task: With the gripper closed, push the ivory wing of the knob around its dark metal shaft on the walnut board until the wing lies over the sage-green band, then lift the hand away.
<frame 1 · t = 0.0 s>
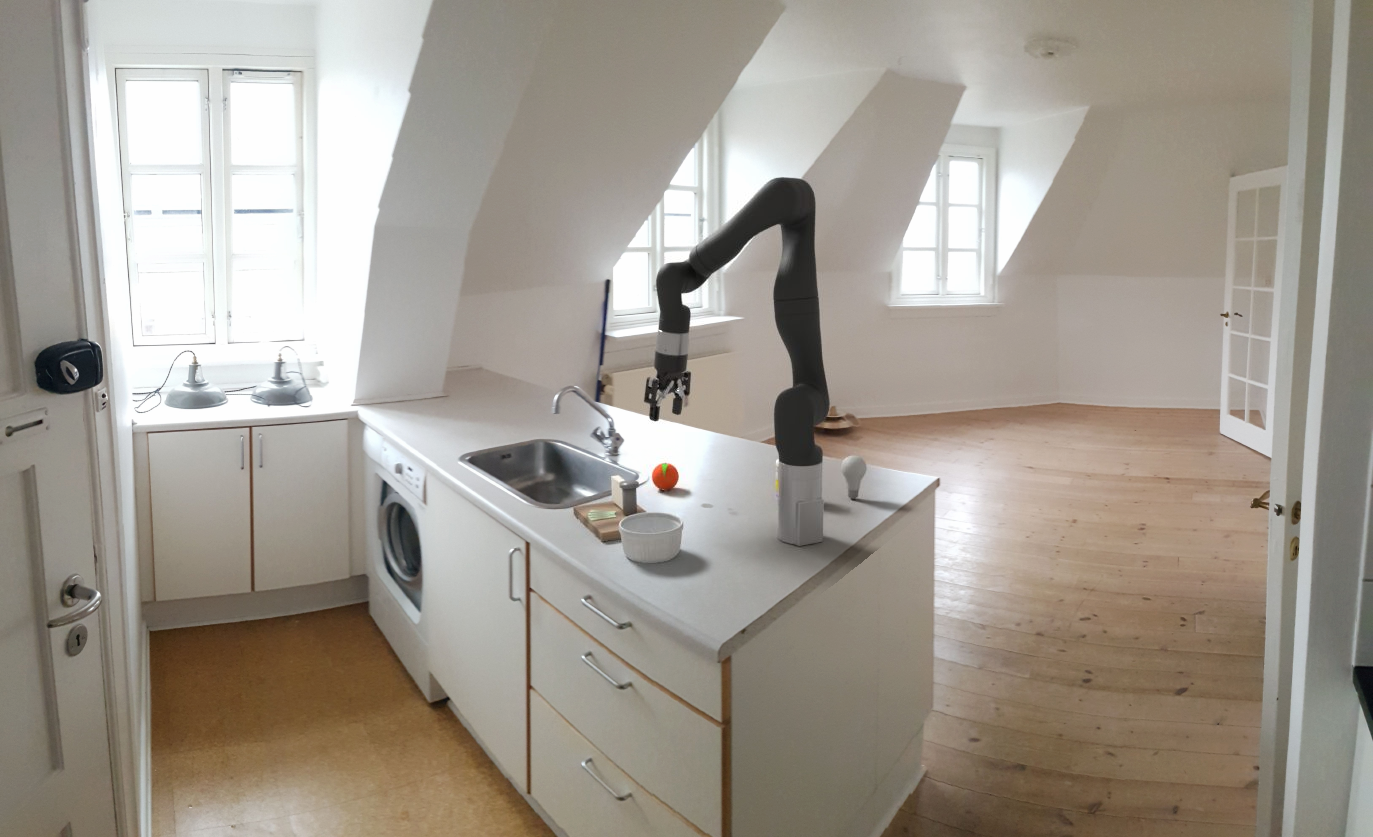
hand: (665, 417, 202), 22 cm above the worktop, tool pointing down, fingers open, 8 cm apart
knob: (623, 493, 200), point 6 cm above the worktop, hinge at 0.0°
board: (616, 523, 197), on the worktop
ramekin: (651, 555, 179), on the worktop
supplement bottle: (788, 500, 213), on the worktop
lightbulb: (852, 499, 212), on the worktop
clementine: (665, 490, 221), on the worktop
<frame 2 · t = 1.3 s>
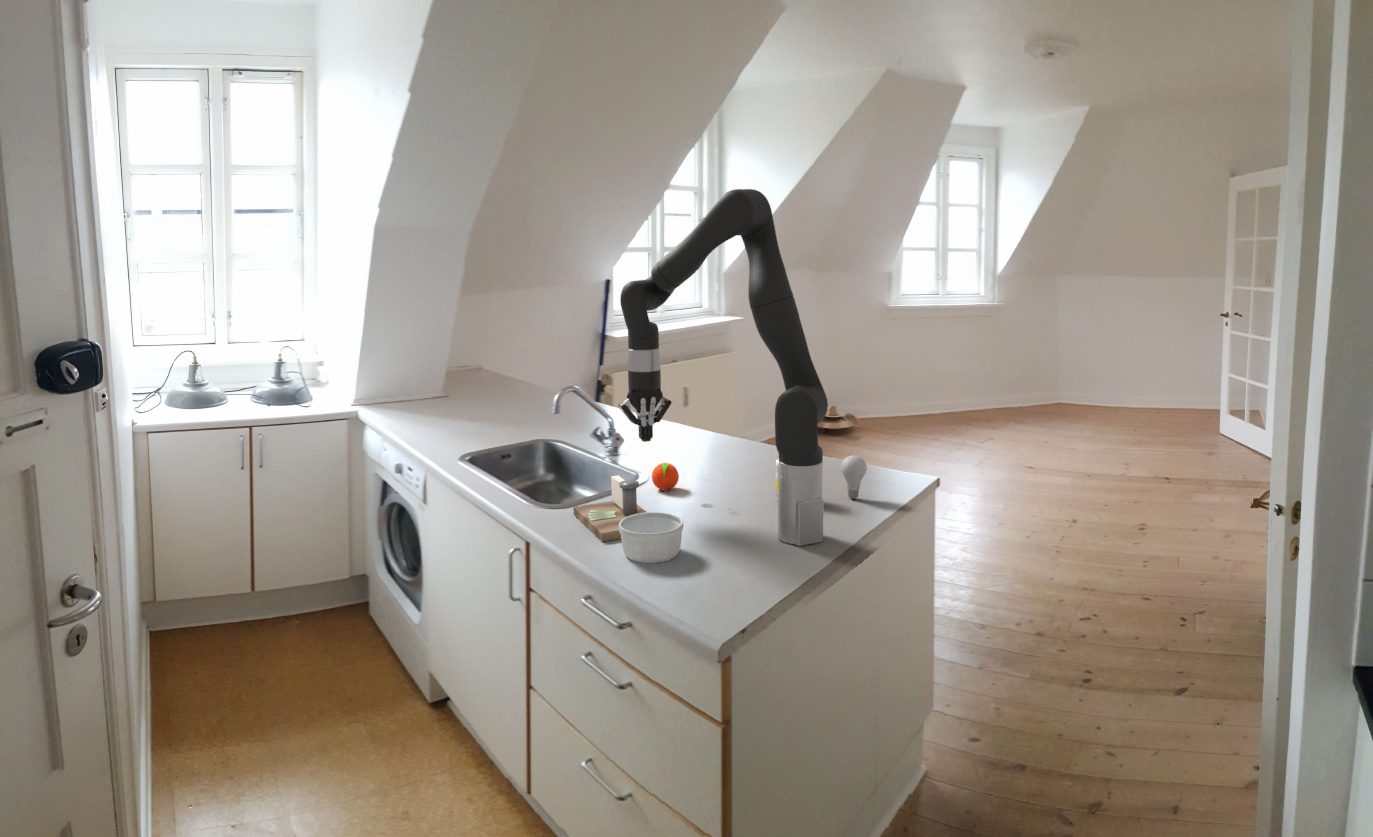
hand: (646, 440, 202), 17 cm above the worktop, tool pointing down, fingers closed
nothing on the worktop moved.
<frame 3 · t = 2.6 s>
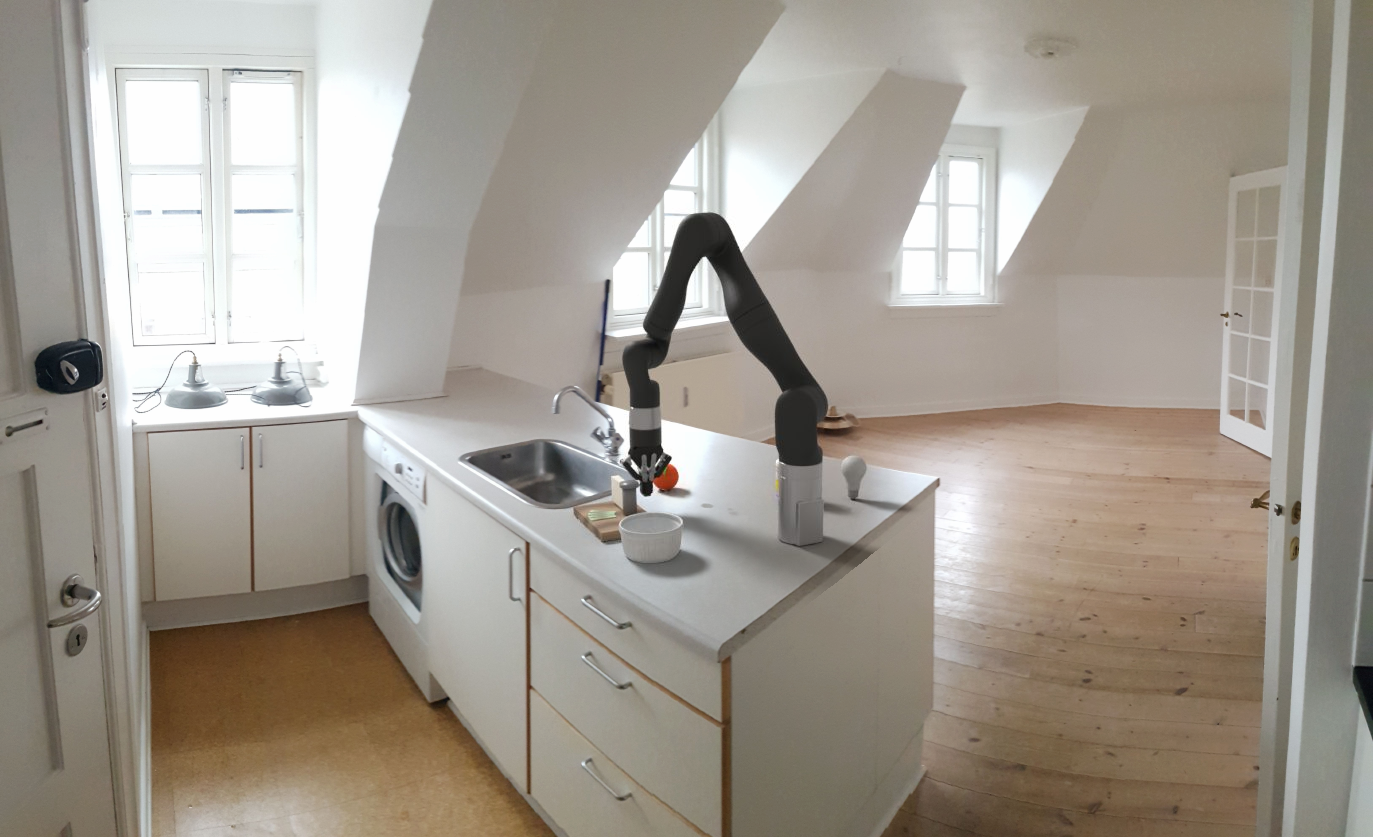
hand: (646, 495, 205), 4 cm above the worktop, tool pointing down, fingers closed
nothing on the worktop moved.
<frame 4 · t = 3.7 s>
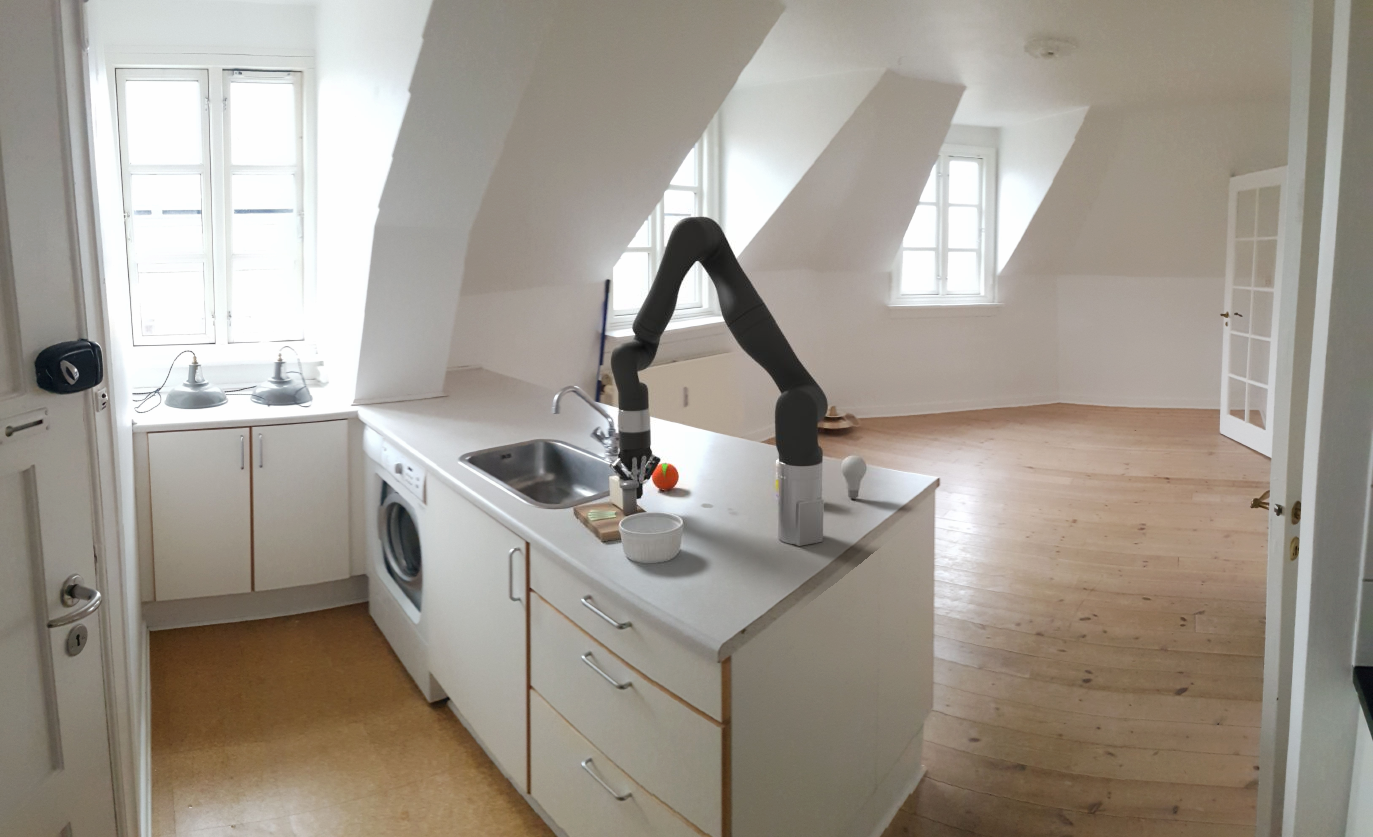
hand: (636, 498, 205), 3 cm above the worktop, tool pointing down, fingers closed
knob: (623, 493, 199), point 6 cm above the worktop, hinge at 2.9°, touching hand
everything else where it was.
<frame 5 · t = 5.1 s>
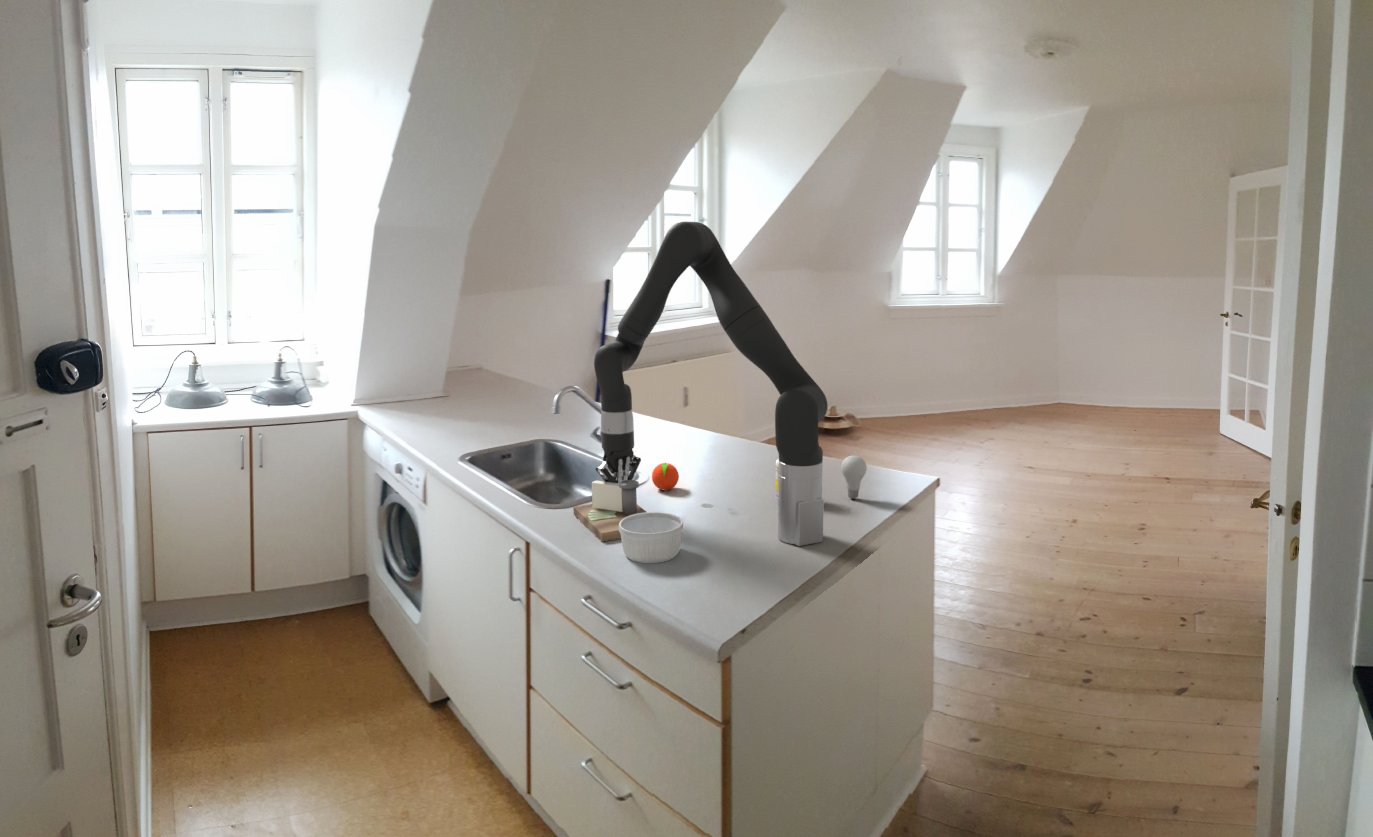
hand: (620, 500, 204), 3 cm above the worktop, tool pointing down, fingers closed
knob: (615, 495, 198), point 6 cm above the worktop, hinge at 38.6°, touching hand
everything else where it was.
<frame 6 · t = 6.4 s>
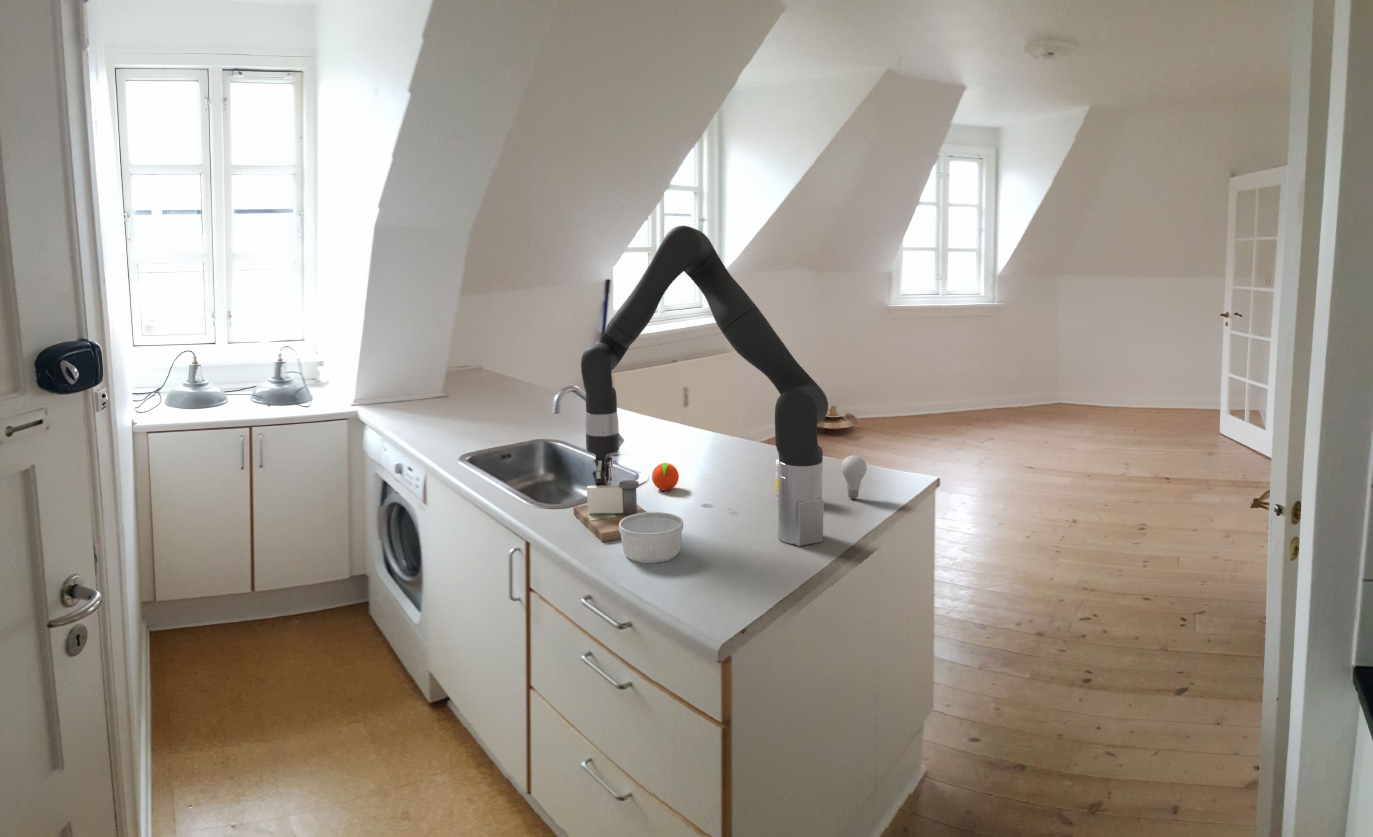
hand: (604, 502, 202), 3 cm above the worktop, tool pointing down, fingers closed
knob: (613, 498, 196), point 6 cm above the worktop, hinge at 64.9°, touching hand
everything else where it was.
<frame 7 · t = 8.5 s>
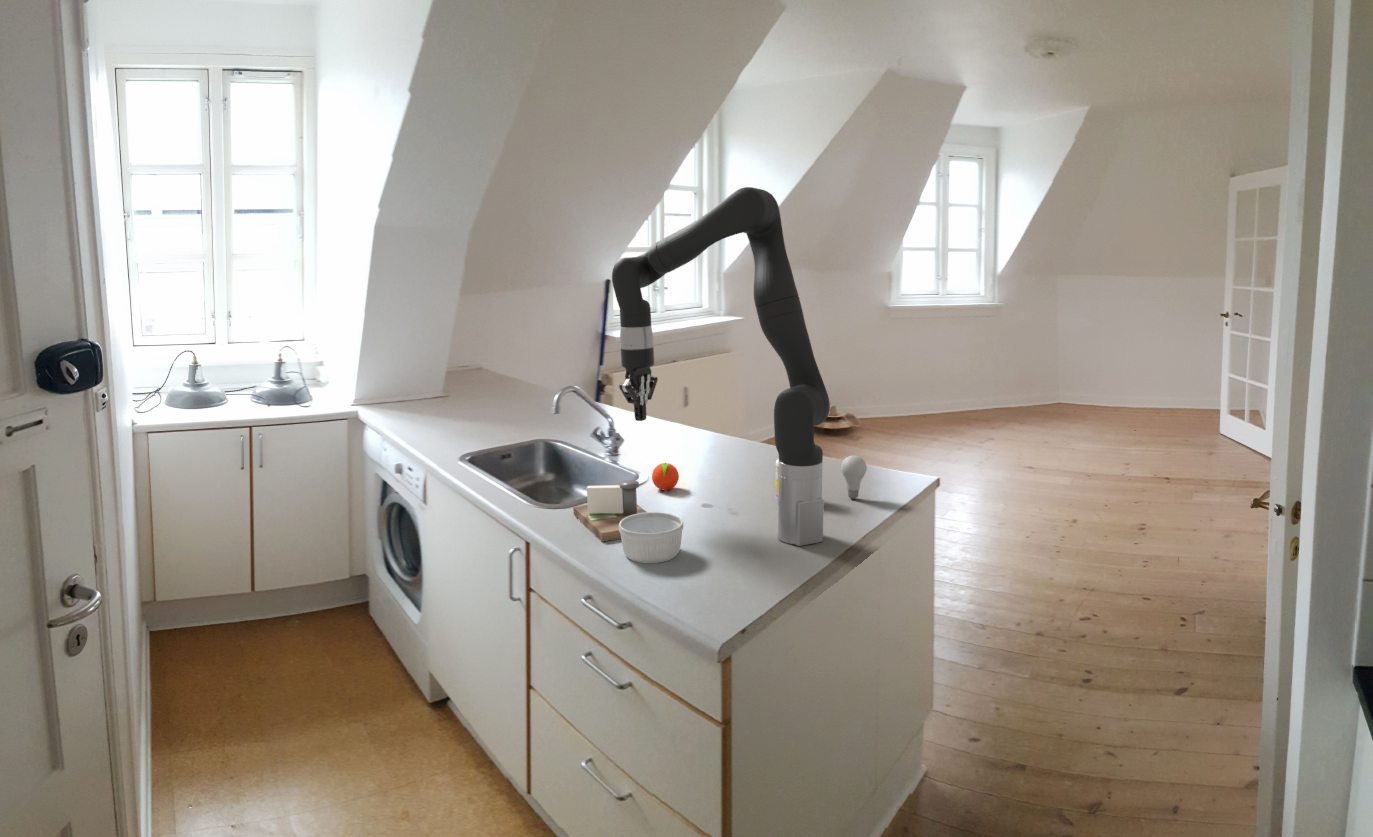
hand: (640, 420, 201), 22 cm above the worktop, tool pointing down, fingers closed
knob: (613, 498, 196), point 6 cm above the worktop, hinge at 65.3°
everything else where it was.
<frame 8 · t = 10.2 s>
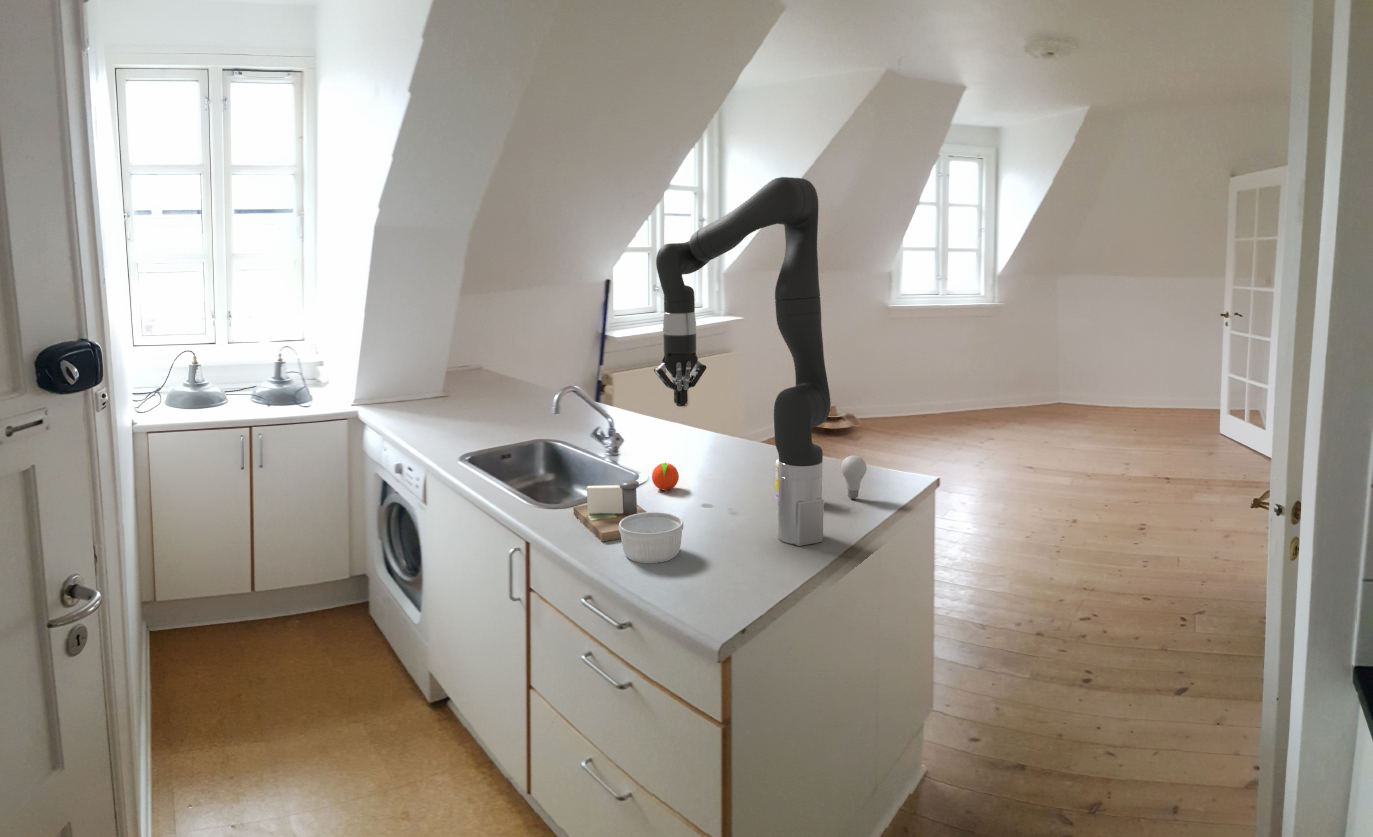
hand: (680, 405, 202), 25 cm above the worktop, tool pointing down, fingers closed
nothing on the worktop moved.
at the end: knob at +65° (first picture: +0°); knob touching nothing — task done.
